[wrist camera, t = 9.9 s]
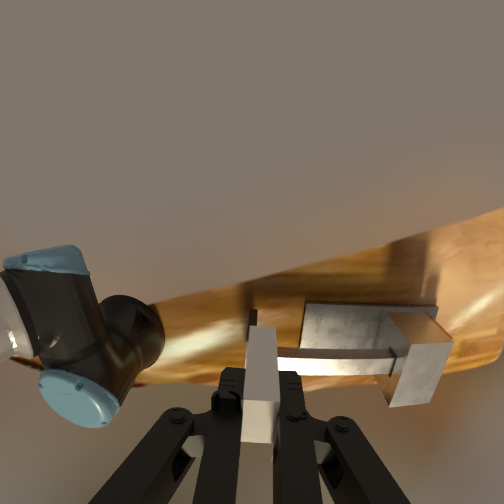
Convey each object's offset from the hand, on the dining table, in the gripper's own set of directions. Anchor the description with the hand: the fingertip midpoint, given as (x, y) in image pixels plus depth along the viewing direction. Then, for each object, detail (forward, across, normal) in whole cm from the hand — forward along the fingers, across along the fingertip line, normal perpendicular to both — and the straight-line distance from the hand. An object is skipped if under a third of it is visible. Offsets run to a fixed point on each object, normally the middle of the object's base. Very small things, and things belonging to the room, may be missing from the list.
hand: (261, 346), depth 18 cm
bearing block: (+32, +21, -17) cm, 42 cm away
